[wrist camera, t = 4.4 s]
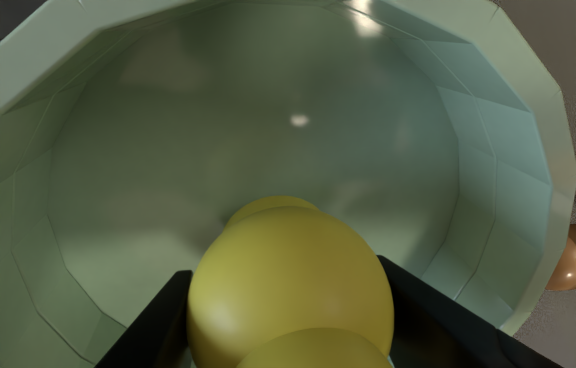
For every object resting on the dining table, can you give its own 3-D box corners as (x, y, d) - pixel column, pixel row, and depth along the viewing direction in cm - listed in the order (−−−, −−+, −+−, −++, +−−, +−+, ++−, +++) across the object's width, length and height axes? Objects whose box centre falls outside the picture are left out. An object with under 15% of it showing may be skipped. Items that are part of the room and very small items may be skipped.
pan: (418, 337, 16) (474, 430, 12) (95, 377, 14) (45, 507, 10) (523, -9, 10) (709, -30, 6) (-57, -46, 7) (-359, -121, 4)
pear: (342, 294, 12) (517, 710, 5) (203, 307, 11) (153, 837, 4) (360, 170, 10) (743, 591, 2) (188, 176, 9) (11, 824, 2)
